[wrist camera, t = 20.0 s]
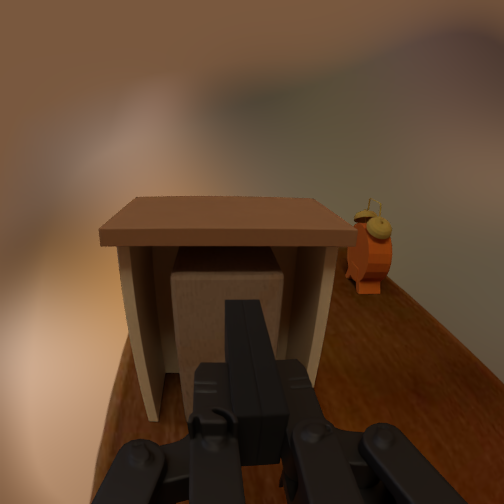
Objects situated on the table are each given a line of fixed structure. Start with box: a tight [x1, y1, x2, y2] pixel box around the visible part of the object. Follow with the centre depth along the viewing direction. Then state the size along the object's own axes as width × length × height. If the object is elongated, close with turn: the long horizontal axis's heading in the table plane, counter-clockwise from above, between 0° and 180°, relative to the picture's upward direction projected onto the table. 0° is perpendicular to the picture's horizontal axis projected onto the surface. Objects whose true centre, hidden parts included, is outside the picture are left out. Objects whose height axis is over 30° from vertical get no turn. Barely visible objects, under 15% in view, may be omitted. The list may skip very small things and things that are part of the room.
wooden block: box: [170, 246, 284, 422], centre depth 35 cm, size 10×10×20 cm
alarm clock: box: [346, 198, 392, 294], centre depth 70 cm, size 13×6×20 cm, turn 3°
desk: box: [99, 196, 358, 422], centre depth 35 cm, size 13×21×24 cm, turn 96°
